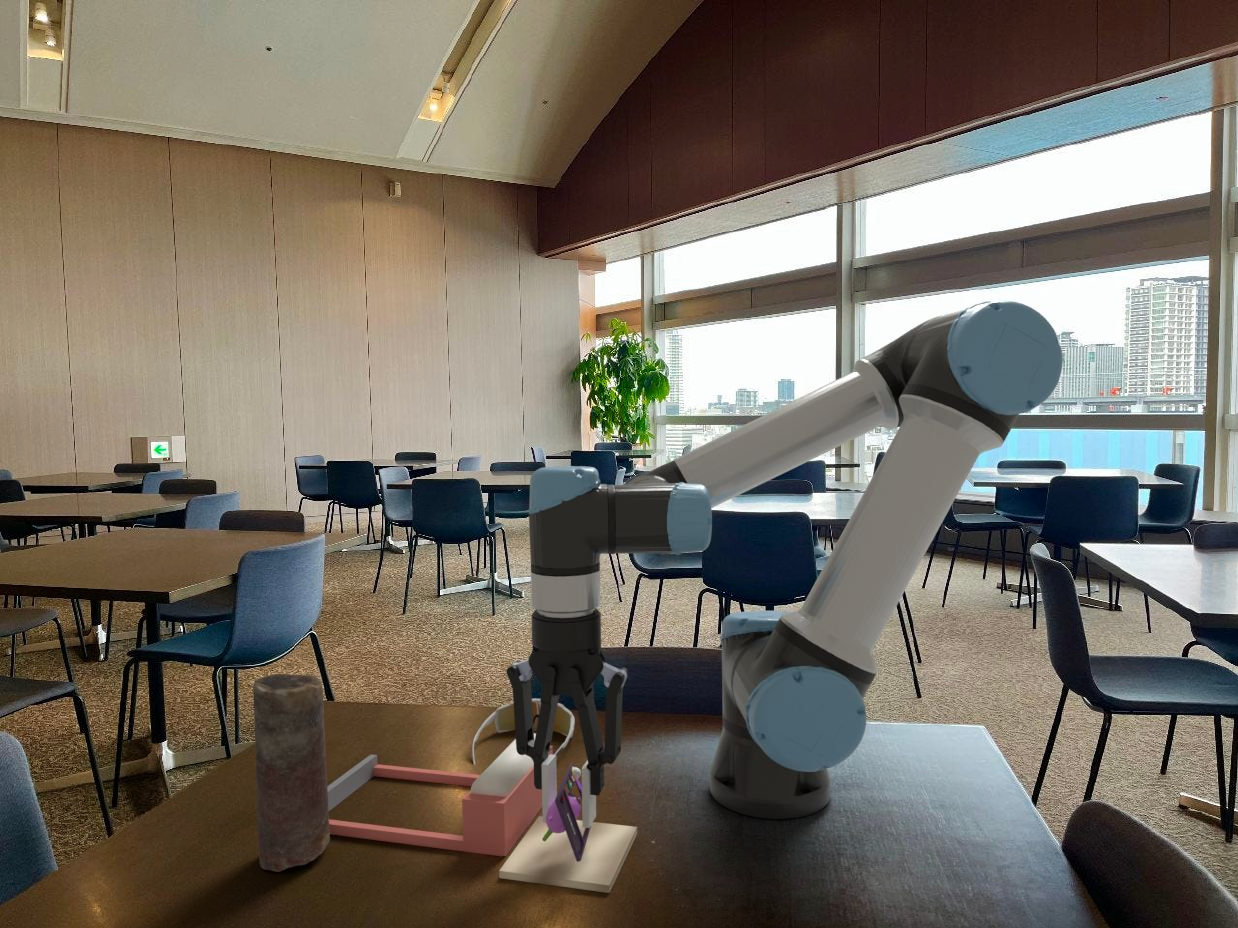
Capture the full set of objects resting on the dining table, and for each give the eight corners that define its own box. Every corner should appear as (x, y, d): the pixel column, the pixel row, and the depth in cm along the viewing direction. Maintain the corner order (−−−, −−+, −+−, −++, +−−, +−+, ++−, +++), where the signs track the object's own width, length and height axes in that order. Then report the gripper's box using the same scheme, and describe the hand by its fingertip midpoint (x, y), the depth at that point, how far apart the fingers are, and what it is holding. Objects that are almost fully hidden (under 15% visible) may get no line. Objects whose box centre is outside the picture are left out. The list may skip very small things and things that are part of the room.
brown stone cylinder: (278, 837, 94) (271, 668, 93) (341, 837, 94) (334, 668, 93) (246, 875, 87) (237, 691, 85) (314, 874, 86) (306, 690, 85)
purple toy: (564, 797, 82) (578, 760, 91) (517, 812, 83) (536, 773, 92) (587, 859, 82) (599, 816, 91) (540, 873, 83) (556, 829, 92)
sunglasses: (585, 730, 125) (583, 700, 124) (556, 787, 111) (554, 754, 110) (499, 724, 129) (496, 695, 128) (460, 778, 114) (457, 746, 113)
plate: (637, 833, 94) (637, 826, 94) (609, 892, 82) (609, 885, 82) (539, 822, 97) (539, 815, 97) (499, 877, 85) (499, 870, 85)
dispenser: (553, 791, 105) (552, 729, 104) (505, 856, 89) (503, 783, 89) (371, 772, 111) (369, 713, 111) (297, 829, 96) (294, 762, 96)
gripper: (649, 604, 89) (652, 811, 91) (506, 597, 94) (510, 795, 95) (633, 621, 82) (636, 845, 83) (479, 613, 86) (484, 826, 88)
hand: (569, 818), depth 89 cm, fingers closed on purple toy, 4 cm apart
